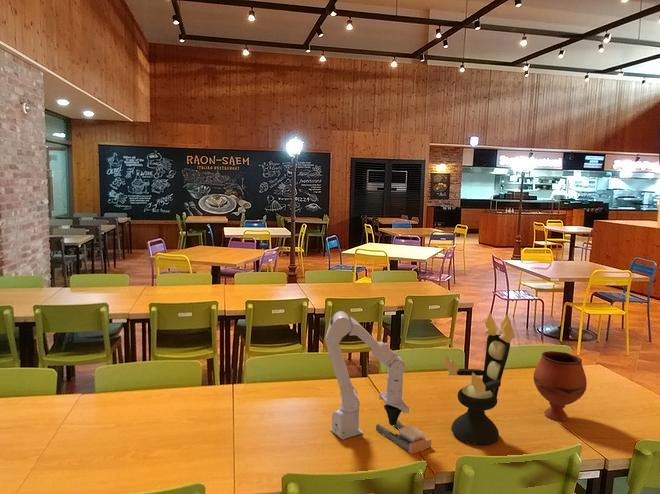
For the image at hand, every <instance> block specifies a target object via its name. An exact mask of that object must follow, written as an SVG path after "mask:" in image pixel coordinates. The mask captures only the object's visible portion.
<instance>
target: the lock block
mask: <svg viewBox="0 0 660 494" xmlns="http://www.w3.org/2000/svg"><path fill="white" fill-rule="evenodd" d="M405 426H406V425H405ZM398 437H399V438H401V439H402V440H404V441H405V442H407V443H409V444H410V443H413V442H416V441H419V440H422V439H424V438H425V432H423V431H421V430H420V429H418V428H416V427H414V426H412V425H407V426H406V427H403V428H400V430H399V435H398Z"/></svg>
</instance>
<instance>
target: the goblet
mask: <svg viewBox="0 0 660 494" xmlns="http://www.w3.org/2000/svg"><path fill="white" fill-rule="evenodd" d="M582 362H583V360H582V358H580V357H578V356H576V355H573V354H570V353H568V352H563V351H553V350H551V351H544V352H542V353H541V357H540V359H539V362H538V363H537V365H536V367H535V369H534V371H533V383H534V384H535V388H536V389H537V391H538V392H539V393H540V395H541V396H542V397H543V398H544V399H545V400H546V401H548V403H549V405H550V407H548V408H546V409H545V410H544V412H543V414H545V415H544V416H545V417H546V416H547V417H546V418H547V419H550V418H551V419H550V420H552V419H553V421H556V420H557V421H558V422H565V421H568V419H567V418H568V414H567V413H566V411H564V408H565V407H566V406H568V405H571V404H573V403H575V402H576V401H578V400H580V399H581V398H582V397H583V395H584V394H585V393H586V390H587V387H588V386H587V383H588V382H587V375H586V372H585V369H584V367H583V363H582Z"/></svg>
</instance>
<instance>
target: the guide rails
mask: <svg viewBox="0 0 660 494" xmlns="http://www.w3.org/2000/svg"><path fill="white" fill-rule="evenodd" d="M394 426H395V427H397V428H399V429H400V428H403V427H406V425H404V424H402V423H401V422H400V421H398V420H397V422H396V425H394ZM394 426H393V427H394ZM395 427H394V428H395ZM397 428H396V429H397ZM399 429H398V430H399ZM377 430H378V431H379V432H378V431H377ZM375 431H377V432H378V433H380V432H381V433H382V434H381V433H380V434H381V435H383V434H384V435H385V436H384V435H383V436H384V437H386V436H387V437H388V438H387V437H386V438H387V439H389V438H390V439H391V440H390V439H389V440H390V441H392V440H393V441H394V442H393V441H392V442H393V443H395V442H396V443H397V444H396V443H395V444H396V445H398V444H399V445H400V446H399V445H398V446H399V447H401V446H402V447H403V448H402V447H401V448H402V449H404V448H405V449H406V450H408V451H409V452H410V453H409V452H408V451H407V452H408V453H409V454H411V453H414V454H416V453H415V452H417V451H419V452H421V451H420V450H422V449H425V448H428V447H430V446H431V447H432V438H430V437H426V438H425V437H424V439H422V440H419V441H416V442H413V443H410V444H409V443H407V442H405V441H404V440H402V439H401V438H399V435H396V434H394V433H393V432H392V431H390V429H387V428H385V427H384V426H382V425H381V424H380V423H379V424H376V426H375ZM405 449H404V450H405ZM428 449H429V448H428ZM406 450H405V451H406ZM425 450H426V449H425ZM422 451H423V450H422ZM417 453H418V452H417Z"/></svg>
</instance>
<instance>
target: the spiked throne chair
mask: <svg viewBox="0 0 660 494" xmlns="http://www.w3.org/2000/svg"><path fill="white" fill-rule="evenodd" d="M492 315H493V314H492V313H491V312H489V313H488V315H487V317H486V319H485V322H484V325H485V330H484V333H485V334H487V335H488V336H487V338H486V345H485V357H484V363H483V364H484V366H483V369H479V368H477V369H476V368H458V366H457V364H456V363H455V362H454V360H452V359H450V358H449V357H448V356H446V355H445V356H444V357H445V358H444V368H445V369H447V373H446V375H447V376H466V377H467V376H470V377H471V382H470V383H471V384H468V385H466V386H463V387H462V388H461V389H459V390H458V392H457V395H456V396H457V400H458V402H459V403H460V404H461V405H463V406H464V407H466V408H468V409H467V410H466V412H465V413H463V414H461V415H459V416H458V417H457V418H455V420H454V421H453V422H452V424H451V427H450V430H451V432H452V434H453V435H454V436H455V437H456V436H457V437H456V438H457V439H459V440H461V441H463V442H464V441H466V443H468V442H469V443H468V444H471V443H473V444H472V445H477V444H478V446H486V445H491V444H493V443H495V442H496V441H497V440H498V439H499V437H500V434H499V433H500V432H499V429H498V428H497V425H496V424H495V423H494V422H493V421H492V420H491V419H490V418H489V417H488V416H487V415H486V411H489V410H492V409H494V408H495V407H496V406H497V404H498V393H499V389H500V387H501V385H502V377H503V374H504V371H505V366H506V364H507V360H508V358H509V353H510V348H511V342H512V340H513V339H514V338H515V334H514V329H513V325H512V321H511V318H510V317H509V314H508V313H506V315H505V317H504V318H503V319H502V321H501V323H500V330H499V329H498V326H497V324H496V321H495V320H494V318H493V316H492ZM498 330H499V333H498V334H497V332H498ZM481 376H482V377H481Z"/></svg>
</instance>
